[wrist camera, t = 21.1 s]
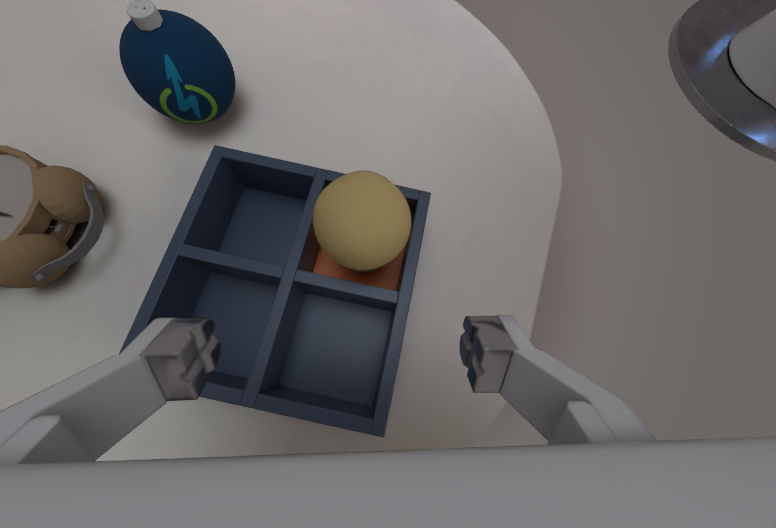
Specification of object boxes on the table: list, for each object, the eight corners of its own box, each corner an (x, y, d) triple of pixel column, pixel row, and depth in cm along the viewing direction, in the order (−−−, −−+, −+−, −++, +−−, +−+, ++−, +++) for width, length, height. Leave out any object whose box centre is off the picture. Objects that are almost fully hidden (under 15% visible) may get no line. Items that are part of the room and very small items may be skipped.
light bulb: (314, 246, 26) (282, 186, 17) (372, 208, 28) (374, 133, 18) (355, 304, 25) (346, 276, 15) (414, 262, 26) (440, 211, 17)
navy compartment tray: (420, 219, 28) (431, 192, 24) (381, 419, 23) (384, 437, 18) (241, 180, 28) (214, 144, 24) (162, 370, 23) (108, 376, 19)
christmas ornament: (153, 137, 29) (47, 33, 20) (177, 72, 32) (93, -49, 22) (239, 146, 29) (177, 48, 20) (256, 81, 32) (207, -35, 22)
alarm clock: (-55, 135, 25) (88, 151, 22) (20, 170, 29) (146, 187, 27) (-152, 260, 22) (2, 296, 19) (-50, 278, 26) (85, 309, 24)
